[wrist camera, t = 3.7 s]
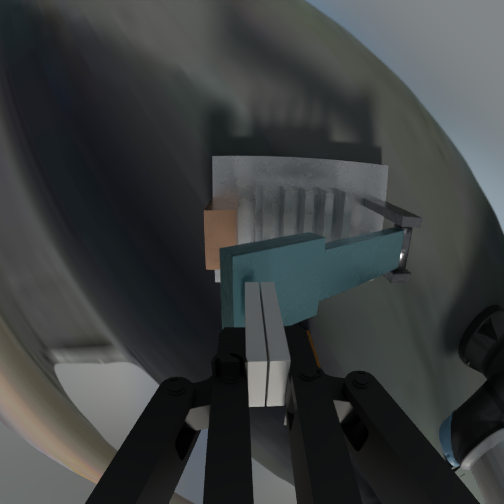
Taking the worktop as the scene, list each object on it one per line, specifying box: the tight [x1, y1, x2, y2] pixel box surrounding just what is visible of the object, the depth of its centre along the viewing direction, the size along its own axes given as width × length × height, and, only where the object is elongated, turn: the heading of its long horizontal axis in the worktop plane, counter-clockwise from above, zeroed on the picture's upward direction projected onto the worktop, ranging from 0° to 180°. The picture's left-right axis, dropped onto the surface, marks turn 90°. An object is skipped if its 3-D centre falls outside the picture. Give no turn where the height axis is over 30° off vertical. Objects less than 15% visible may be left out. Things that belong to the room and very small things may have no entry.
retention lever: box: [219, 224, 412, 329], centre depth 22 cm, size 21×6×2 cm, turn 87°
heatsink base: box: [204, 156, 422, 283], centre depth 31 cm, size 22×16×12 cm
